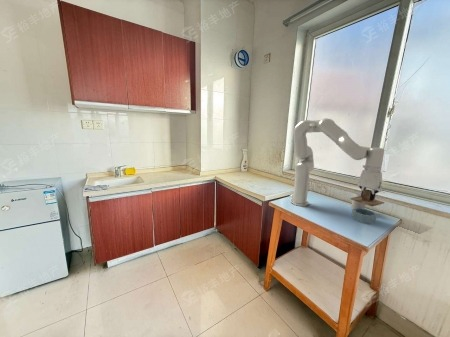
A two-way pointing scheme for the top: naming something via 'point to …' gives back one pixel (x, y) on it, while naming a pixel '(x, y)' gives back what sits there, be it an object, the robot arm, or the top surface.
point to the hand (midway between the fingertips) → (367, 198)
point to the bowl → (364, 215)
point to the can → (357, 204)
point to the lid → (367, 199)
